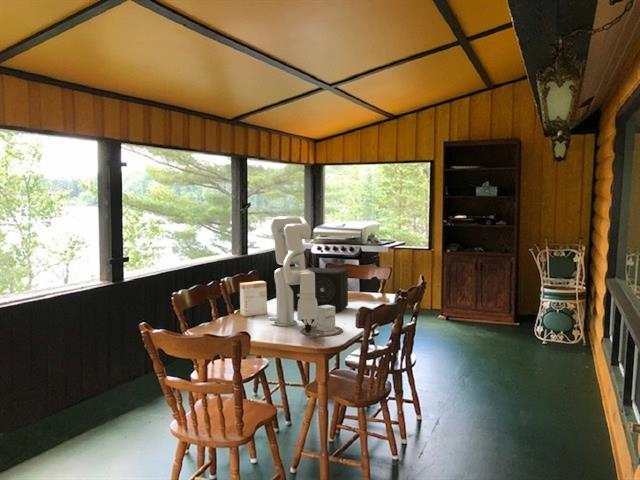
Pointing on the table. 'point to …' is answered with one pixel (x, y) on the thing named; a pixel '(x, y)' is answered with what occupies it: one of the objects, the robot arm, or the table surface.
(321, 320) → the supplement box
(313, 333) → the collar
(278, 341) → the table surface
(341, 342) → the table surface
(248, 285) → the coffeecake box
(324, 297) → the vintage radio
